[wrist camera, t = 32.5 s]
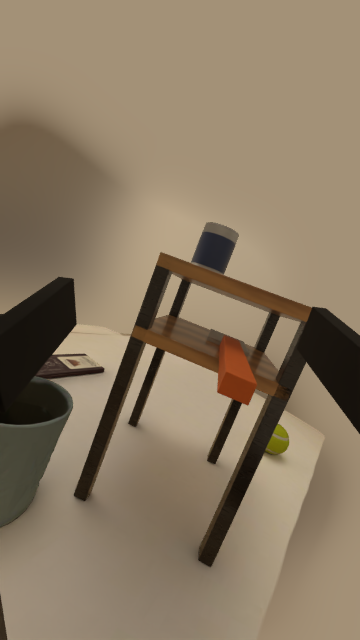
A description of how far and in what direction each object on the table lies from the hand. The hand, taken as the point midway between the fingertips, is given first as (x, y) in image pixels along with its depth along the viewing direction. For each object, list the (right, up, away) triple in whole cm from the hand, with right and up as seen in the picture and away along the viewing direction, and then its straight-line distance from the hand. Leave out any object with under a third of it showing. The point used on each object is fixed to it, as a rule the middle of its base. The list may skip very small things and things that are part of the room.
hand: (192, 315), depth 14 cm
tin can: (+3, +7, +28) cm, 29 cm away
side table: (-4, -24, +26) cm, 36 cm away
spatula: (+5, -4, +16) cm, 17 cm away
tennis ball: (+19, -31, +45) cm, 58 cm away
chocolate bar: (-29, -12, +47) cm, 57 cm away
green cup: (-21, -19, +14) cm, 32 cm away
